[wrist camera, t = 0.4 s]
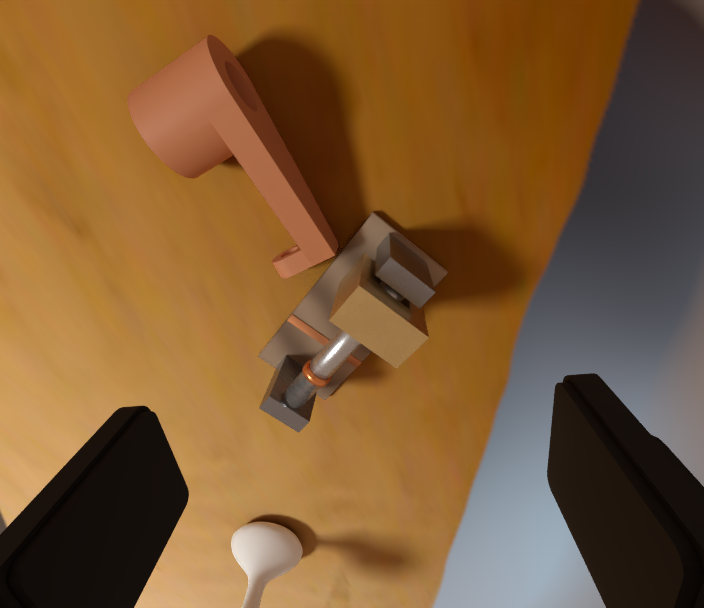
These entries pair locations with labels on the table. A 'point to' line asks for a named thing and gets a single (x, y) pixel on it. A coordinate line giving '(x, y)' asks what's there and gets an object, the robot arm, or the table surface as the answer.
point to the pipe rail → (344, 338)
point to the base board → (314, 310)
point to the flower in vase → (264, 555)
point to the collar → (377, 315)
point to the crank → (229, 141)
